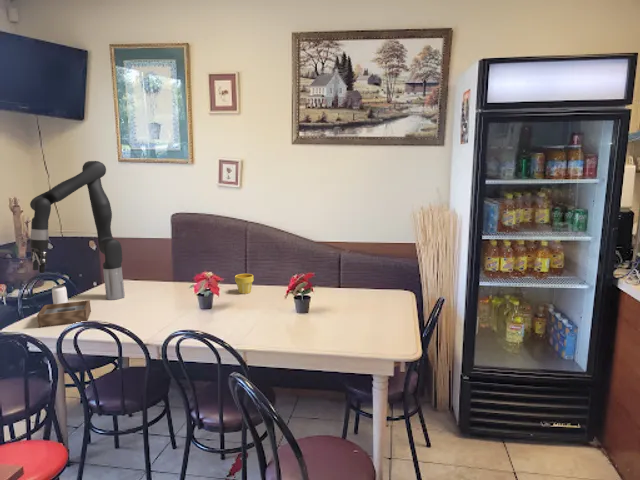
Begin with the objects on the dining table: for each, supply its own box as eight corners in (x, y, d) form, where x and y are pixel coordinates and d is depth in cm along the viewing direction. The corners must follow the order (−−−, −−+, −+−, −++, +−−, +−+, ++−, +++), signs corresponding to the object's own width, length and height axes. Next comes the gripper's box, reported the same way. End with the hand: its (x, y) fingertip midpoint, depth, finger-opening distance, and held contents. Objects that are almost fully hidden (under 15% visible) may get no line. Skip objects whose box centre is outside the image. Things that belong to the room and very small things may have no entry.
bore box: (91, 311, 228) (89, 300, 227) (87, 321, 213) (85, 309, 212) (45, 316, 221) (44, 305, 220) (38, 327, 206) (36, 315, 205)
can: (62, 311, 229) (59, 288, 227) (51, 310, 231) (48, 287, 228) (71, 307, 235) (68, 284, 233) (60, 306, 237) (58, 284, 235)
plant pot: (246, 288, 264) (246, 272, 262) (257, 292, 257) (257, 275, 255) (232, 292, 257) (231, 275, 255) (242, 296, 250) (242, 279, 248)
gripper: (53, 239, 217) (52, 273, 218) (42, 236, 226) (41, 268, 228) (36, 240, 211) (35, 274, 213) (25, 237, 221) (24, 269, 222)
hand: (38, 271), depth 220 cm, fingers open, 8 cm apart
